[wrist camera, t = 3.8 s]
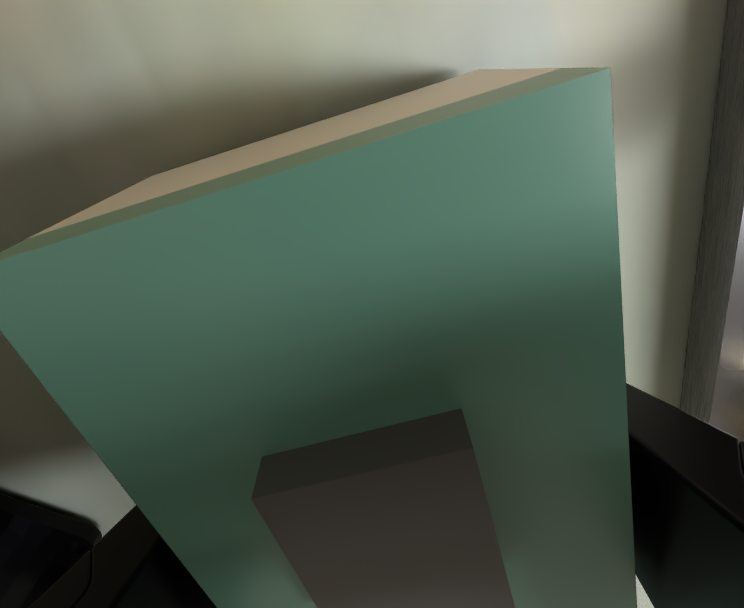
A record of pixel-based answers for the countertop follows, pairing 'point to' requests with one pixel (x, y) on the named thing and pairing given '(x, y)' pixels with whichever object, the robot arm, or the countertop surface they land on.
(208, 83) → the countertop surface
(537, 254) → the board
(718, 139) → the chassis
